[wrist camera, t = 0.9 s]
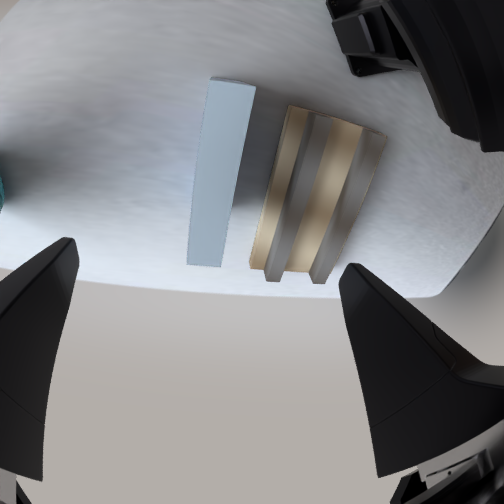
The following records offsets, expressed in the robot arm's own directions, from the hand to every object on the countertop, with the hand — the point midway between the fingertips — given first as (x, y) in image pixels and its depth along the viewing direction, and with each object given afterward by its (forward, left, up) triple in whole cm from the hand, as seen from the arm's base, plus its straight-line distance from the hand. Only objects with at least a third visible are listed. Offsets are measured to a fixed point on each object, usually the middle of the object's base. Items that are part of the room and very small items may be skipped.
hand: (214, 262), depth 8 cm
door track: (-5, +7, -13) cm, 16 cm away
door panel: (0, 0, -13) cm, 13 cm away
